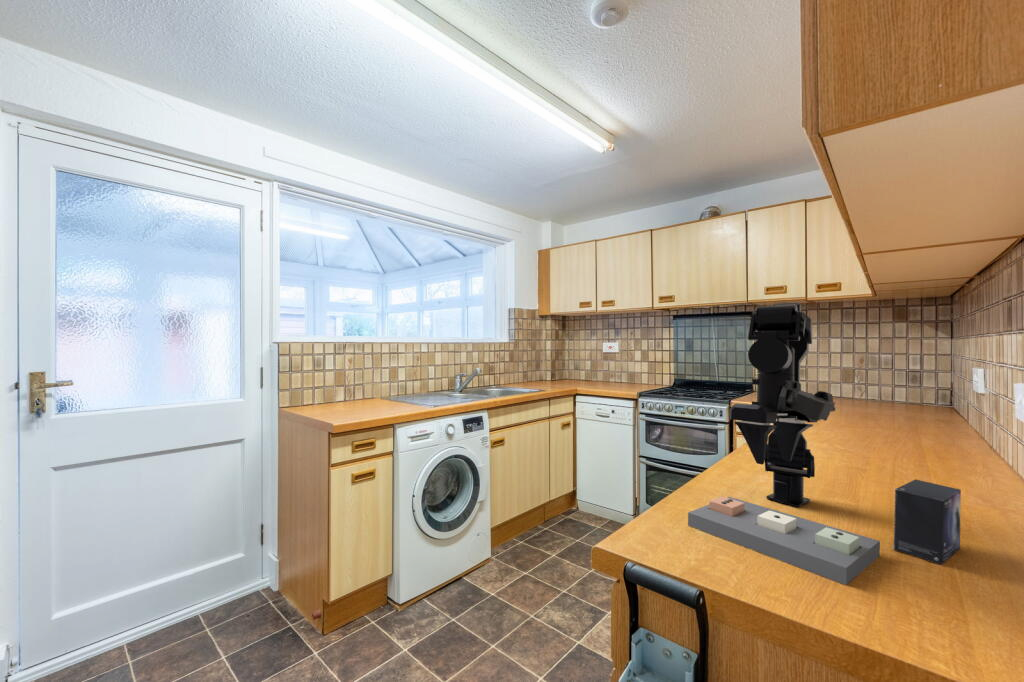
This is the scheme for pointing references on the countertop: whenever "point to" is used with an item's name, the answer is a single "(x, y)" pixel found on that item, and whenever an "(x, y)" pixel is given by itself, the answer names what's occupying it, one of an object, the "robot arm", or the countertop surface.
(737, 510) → the three-dot button
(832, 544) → the two-dot button
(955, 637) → the countertop surface
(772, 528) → the one-dot button
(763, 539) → the button board
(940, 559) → the small box
